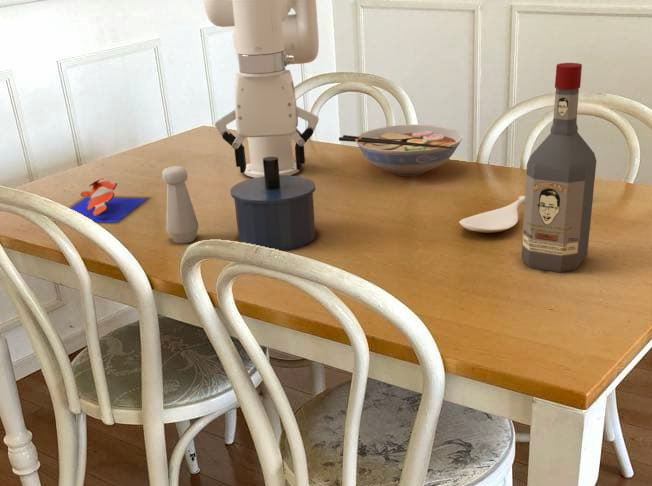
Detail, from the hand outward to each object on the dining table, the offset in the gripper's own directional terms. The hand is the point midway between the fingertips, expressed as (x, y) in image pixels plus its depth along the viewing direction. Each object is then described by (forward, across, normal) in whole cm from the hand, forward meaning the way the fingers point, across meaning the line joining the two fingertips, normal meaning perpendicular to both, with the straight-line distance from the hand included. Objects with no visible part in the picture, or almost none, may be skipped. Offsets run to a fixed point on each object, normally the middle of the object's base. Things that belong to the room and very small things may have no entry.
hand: (271, 169), depth 151 cm
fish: (+12, +37, -22) cm, 45 cm away
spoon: (+12, -45, -6) cm, 47 cm away
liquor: (+13, -46, +16) cm, 50 cm away
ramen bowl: (+12, -26, -38) cm, 48 cm away
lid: (+4, 0, 0) cm, 4 cm away
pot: (+12, 0, 0) cm, 12 cm away
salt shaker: (+12, +17, -2) cm, 21 cm away
